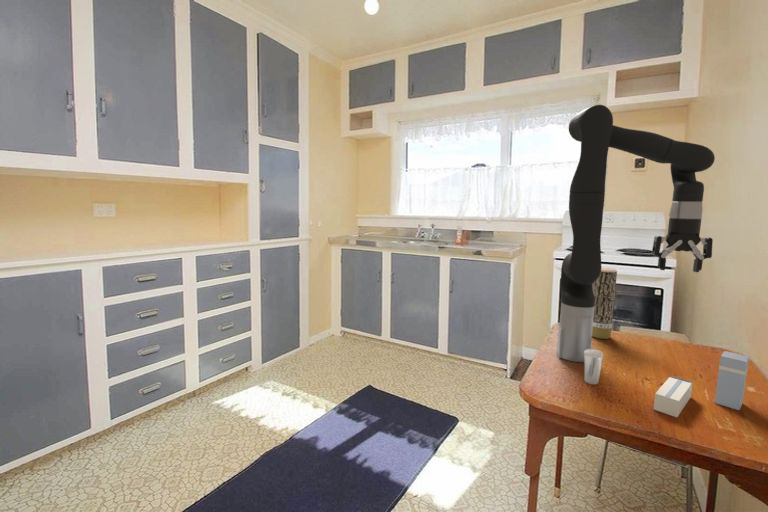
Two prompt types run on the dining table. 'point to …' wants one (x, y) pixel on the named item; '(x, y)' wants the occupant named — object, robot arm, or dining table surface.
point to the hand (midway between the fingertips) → (678, 270)
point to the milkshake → (592, 365)
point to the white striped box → (673, 396)
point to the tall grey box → (731, 380)
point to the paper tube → (604, 303)
